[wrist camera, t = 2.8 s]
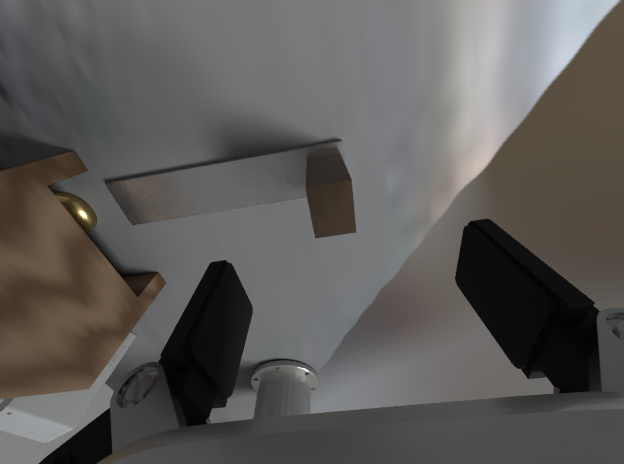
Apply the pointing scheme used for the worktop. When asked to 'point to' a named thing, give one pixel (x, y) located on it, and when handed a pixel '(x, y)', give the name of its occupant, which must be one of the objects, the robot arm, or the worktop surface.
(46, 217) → the cabinet
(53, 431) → the supplement box
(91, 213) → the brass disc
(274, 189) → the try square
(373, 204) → the worktop surface
